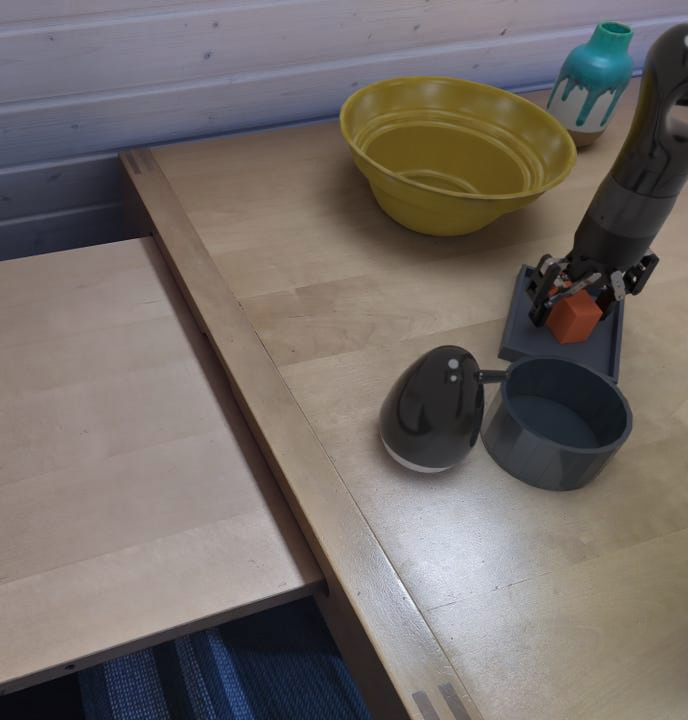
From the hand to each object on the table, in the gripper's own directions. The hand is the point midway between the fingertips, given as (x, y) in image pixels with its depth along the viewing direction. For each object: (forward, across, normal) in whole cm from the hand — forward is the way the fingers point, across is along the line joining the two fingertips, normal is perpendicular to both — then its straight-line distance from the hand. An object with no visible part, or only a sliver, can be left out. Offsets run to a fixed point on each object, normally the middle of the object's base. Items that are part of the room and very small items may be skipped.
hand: (566, 319), depth 90 cm
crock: (+2, -11, -16) cm, 19 cm away
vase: (+2, +24, +43) cm, 49 cm away
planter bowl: (+2, -7, +27) cm, 28 cm away
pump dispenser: (+2, -25, -15) cm, 29 cm away
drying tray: (+2, 0, 0) cm, 2 cm away
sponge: (+1, 0, 0) cm, 1 cm away
